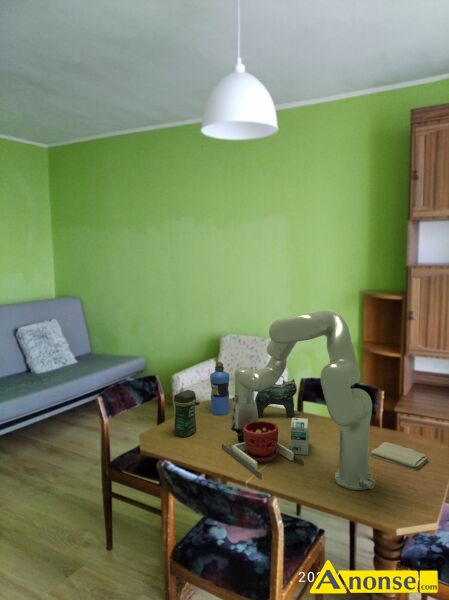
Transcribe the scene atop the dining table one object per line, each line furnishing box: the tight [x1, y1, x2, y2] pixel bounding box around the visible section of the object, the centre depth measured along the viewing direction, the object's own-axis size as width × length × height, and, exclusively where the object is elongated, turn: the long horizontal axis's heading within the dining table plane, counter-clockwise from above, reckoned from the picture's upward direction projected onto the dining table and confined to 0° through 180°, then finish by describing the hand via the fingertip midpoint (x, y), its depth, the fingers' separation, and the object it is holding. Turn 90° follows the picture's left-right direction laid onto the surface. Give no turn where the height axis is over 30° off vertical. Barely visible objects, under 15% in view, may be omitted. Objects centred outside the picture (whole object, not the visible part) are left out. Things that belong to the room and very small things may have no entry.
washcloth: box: [369, 441, 429, 471], centre depth 165 cm, size 12×18×3 cm, turn 46°
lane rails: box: [221, 443, 305, 480], centre depth 168 cm, size 28×19×2 cm
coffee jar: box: [173, 389, 197, 438], centre depth 190 cm, size 10×8×19 cm
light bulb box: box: [290, 417, 309, 456], centre depth 174 cm, size 11×7×11 cm, turn 168°
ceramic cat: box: [254, 375, 298, 419], centre depth 208 cm, size 20×6×20 cm, turn 89°
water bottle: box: [209, 361, 230, 417], centre depth 214 cm, size 9×9×25 cm
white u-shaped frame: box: [230, 428, 295, 471], centre depth 169 cm, size 22×17×6 cm
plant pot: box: [243, 420, 279, 463], centre depth 167 cm, size 13×13×12 cm
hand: (244, 442), depth 178 cm, fingers closed on white u-shaped frame, 3 cm apart
